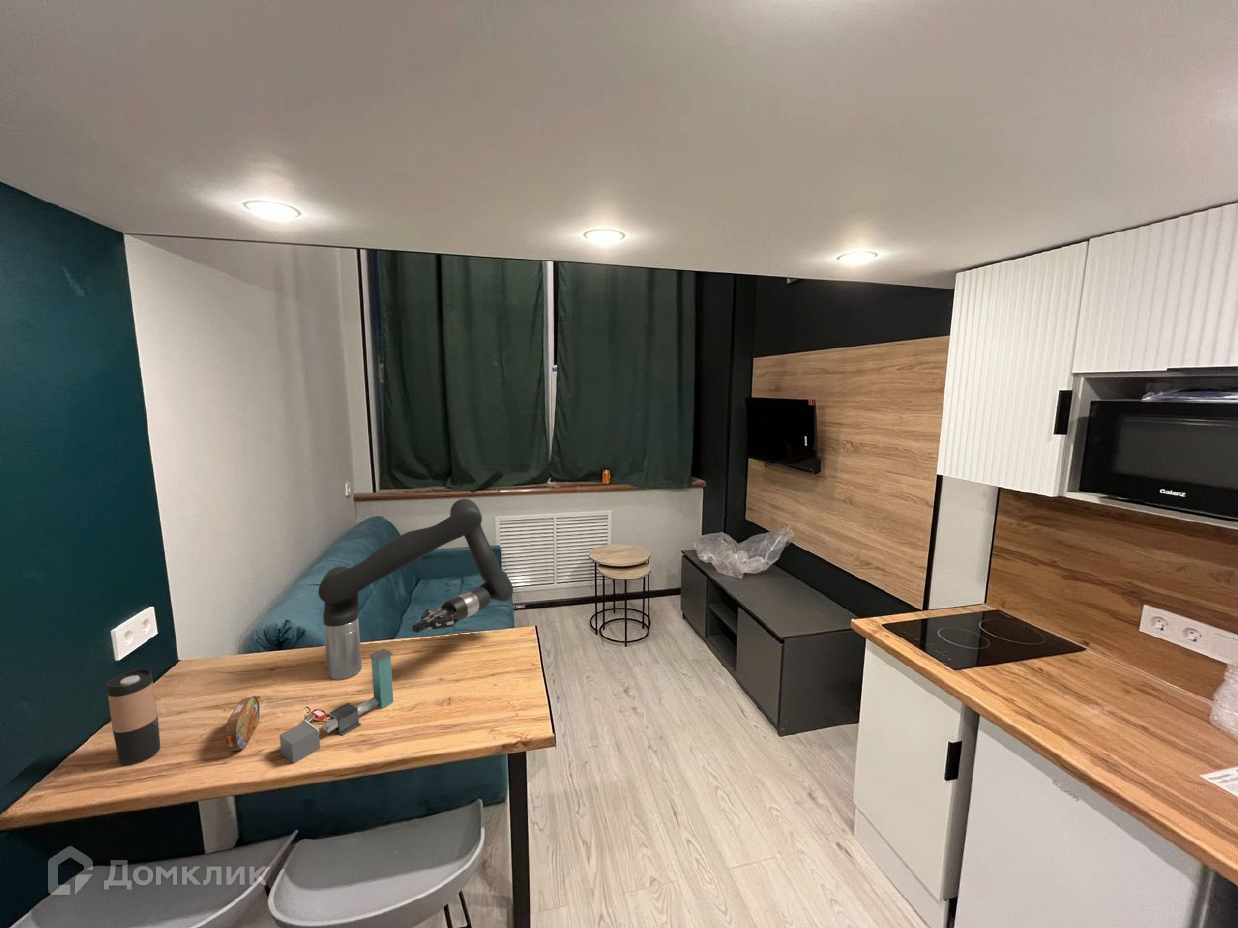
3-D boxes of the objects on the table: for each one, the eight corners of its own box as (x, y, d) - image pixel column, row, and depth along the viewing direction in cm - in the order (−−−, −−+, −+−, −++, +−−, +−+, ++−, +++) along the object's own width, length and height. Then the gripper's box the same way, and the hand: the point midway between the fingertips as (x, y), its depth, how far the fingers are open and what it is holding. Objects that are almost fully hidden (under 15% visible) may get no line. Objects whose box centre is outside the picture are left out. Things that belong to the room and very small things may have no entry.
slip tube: (321, 732, 125) (317, 678, 123) (386, 696, 140) (383, 648, 138) (330, 738, 123) (326, 684, 121) (395, 701, 138) (392, 652, 136)
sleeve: (328, 726, 128) (327, 711, 127) (347, 716, 132) (346, 701, 132) (342, 735, 125) (340, 720, 124) (361, 724, 129) (360, 709, 128)
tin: (240, 756, 117) (236, 724, 116) (224, 759, 116) (220, 727, 115) (262, 717, 131) (259, 688, 130) (248, 720, 130) (244, 691, 129)
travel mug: (137, 744, 121) (126, 669, 118) (170, 742, 122) (160, 667, 119) (108, 767, 114) (95, 687, 111) (143, 765, 114) (132, 686, 111)
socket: (280, 753, 119) (278, 733, 118) (307, 738, 124) (305, 719, 123) (294, 763, 115) (292, 743, 114) (320, 748, 120) (319, 729, 119)
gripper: (446, 592, 162) (399, 612, 147) (474, 600, 155) (427, 622, 140) (448, 613, 163) (401, 635, 148) (475, 623, 156) (429, 647, 141)
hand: (414, 629), depth 144 cm, fingers closed
